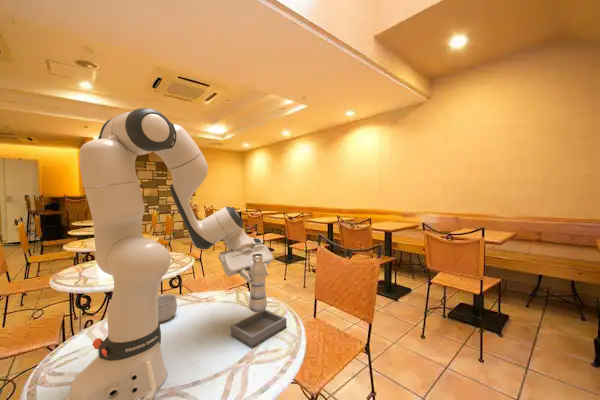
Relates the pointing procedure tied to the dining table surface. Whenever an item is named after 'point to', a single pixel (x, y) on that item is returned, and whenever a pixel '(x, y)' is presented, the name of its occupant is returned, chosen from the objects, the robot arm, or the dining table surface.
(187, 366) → the dining table surface
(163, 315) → the teacup
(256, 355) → the dining table surface
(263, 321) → the tray
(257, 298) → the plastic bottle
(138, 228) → the robot arm
